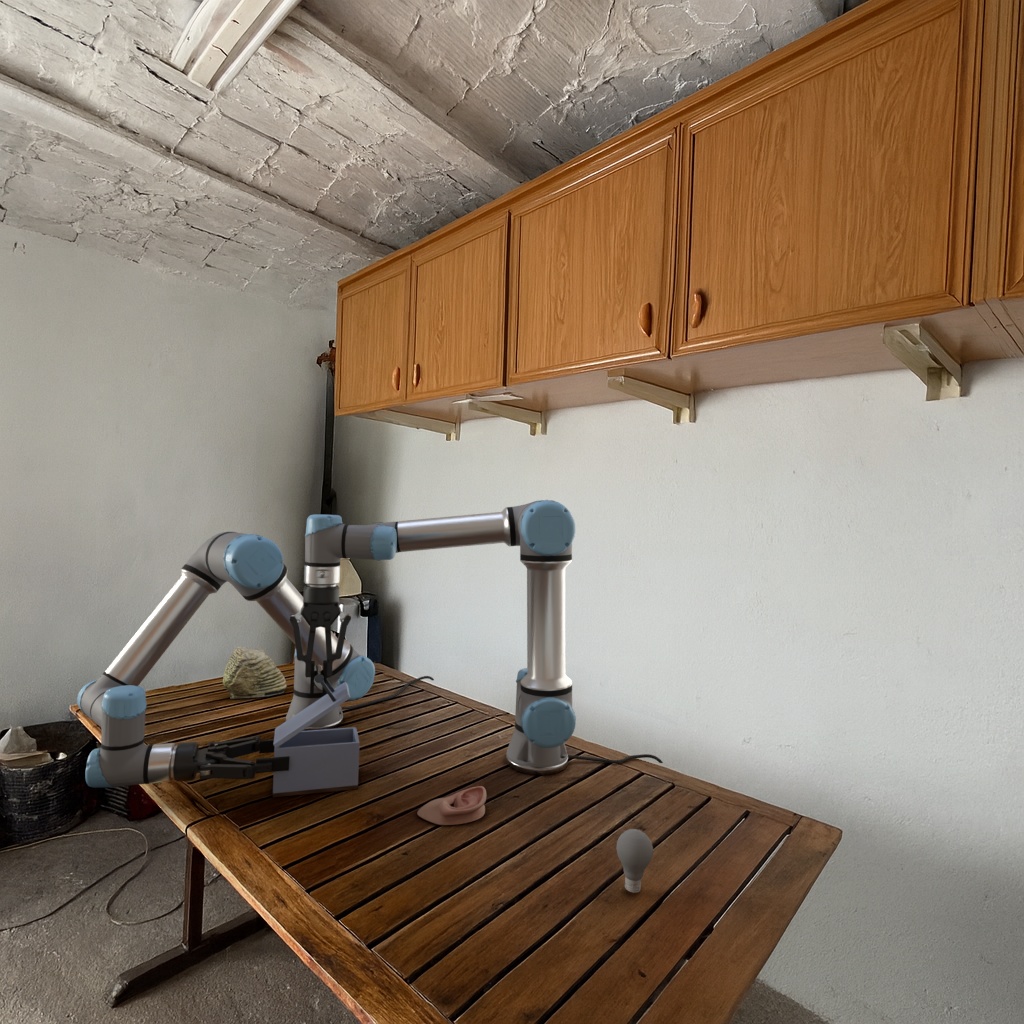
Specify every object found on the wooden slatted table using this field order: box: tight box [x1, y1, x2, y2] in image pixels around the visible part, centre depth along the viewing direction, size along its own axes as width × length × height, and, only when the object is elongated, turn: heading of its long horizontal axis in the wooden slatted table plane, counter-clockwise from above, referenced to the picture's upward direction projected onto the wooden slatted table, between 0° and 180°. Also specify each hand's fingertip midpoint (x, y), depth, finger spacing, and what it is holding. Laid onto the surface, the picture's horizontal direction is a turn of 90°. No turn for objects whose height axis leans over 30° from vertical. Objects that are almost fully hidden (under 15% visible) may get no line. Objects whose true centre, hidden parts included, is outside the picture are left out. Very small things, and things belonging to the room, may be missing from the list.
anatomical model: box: [416, 785, 488, 826], centre depth 129 cm, size 13×4×12 cm
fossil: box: [222, 646, 288, 699], centre depth 198 cm, size 9×18×15 cm, turn 132°
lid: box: [273, 665, 350, 748], centre depth 139 cm, size 18×10×8 cm
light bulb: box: [615, 828, 654, 894], centre depth 106 cm, size 6×6×10 cm
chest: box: [272, 726, 361, 798], centre depth 140 cm, size 17×10×10 cm, turn 108°
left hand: (289, 753), depth 138 cm, fingers closed on chest, 10 cm apart
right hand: (318, 691), depth 139 cm, fingers closed on lid, 2 cm apart
